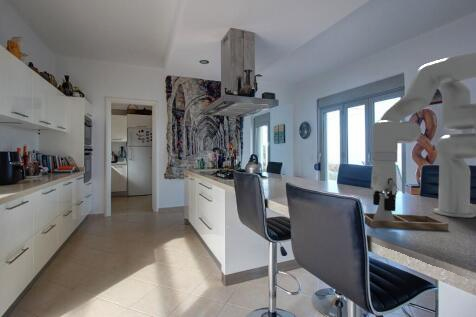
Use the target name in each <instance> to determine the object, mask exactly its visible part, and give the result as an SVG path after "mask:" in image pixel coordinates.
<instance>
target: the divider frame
mask: <svg viewBox="0 0 476 317" xmlns="http://www.w3.org/2000/svg"><path fill="white" fill-rule="evenodd" d="M363 213H364V216H365V222H364V223H365V224H367V225H368V226H369V227H371V228H382V229H385V228H387V229H388V228H389V229H407V230H408V229H409V230H411V229H412V230H430V231H431V230H432V231H448V230H449V223H446V222H444V221H442V220H439V219H437V218H435V217H432V216H430V215H425V214H424V215H423V214H405V213H404V214H400V213H392V214H393V217H394V219H395V221H378V220H373V218H374V215H375V213H376V212H375V213H373V212H372V213H370V212H363Z"/></svg>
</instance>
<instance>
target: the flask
mask: <svg viewBox="0 0 476 317" xmlns="http://www.w3.org/2000/svg"><path fill="white" fill-rule="evenodd" d="M388 194H389V192H388ZM379 195H380V202H379V205H377V208H376V211H375V215H374V218H373V220H378V221H395V219H394V217H393V214H394V213H393V211H385V210H384V198H386V197H385V194H384V192H383V193H379Z"/></svg>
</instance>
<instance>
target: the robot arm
mask: <svg viewBox="0 0 476 317" xmlns="http://www.w3.org/2000/svg"><path fill="white" fill-rule="evenodd" d="M473 78H476V52H472V53H470V52H469V53H465V54H459V55H453V56H448V57H446V58H445V57H444V58H442V59H438V60H435V61H432V62H428V63H426V64H424V65H422V66H420V67H419V68H418V70H417V71H416V72H415V74H414V76H413V79H412V80H411V82H410V84H409V86H408V88H407V90H406V91H405V92H406V93H405V94H404V96H403V97H401V98H400V99H399V100H398V101H397V102H395V103H394V104H393V105H391V107H389V109H387V110H386V111H385V112H384V114H383V115H382V117H381V119H380V120H379V121H376V122H374V123H373V124H372V131H371V132H372V134H371V135H372V137H371V138H372V142H371V143H372V146H371V147H372V148H371V154H372V155H371V156H372V157H371V162H372V165H371V166H372V168H371V179H370V180H371V181H370V188H371V189H372V193H373V196H372V197H373V198H372V199H373V200H372V201H373V205H375V206H378V205H379V202H380V195H379V193H384V194H385V197H386V198H384V210H385V211H392V212H395V211H396V206H397V205H396V202H397V201H396V199H397V195H398V194H397V190H398V185H397V184H398V183H397V180H398V178H397V165H396V164H397V163H398V147H399V146H398V145H399V144H411V143H414V142H416V141H418V140H419V139H420V137H422V128H421V126H420V125H419V124H418V123H417V122H414V121H412V120H405V121H403V120H404V119H406V118H408V117H409V116H412V115H413V114H416V113H418V112H421V111H422V110H424V109H425V108H426V109H427V107H428V106H430V104H431V103H432V100H433V99H434V97H435V94H436V92H437V90H439V92H440V95H441V98H442V99H441V100H442V102H441V103H442V108H441V111H442V112H441V122H442V127H443V129H444V130H446V131H451V132H452V131H467V130H468V131H469V130H474V132H471V133H470V132H469V133H452V134H446V135H443V136H441V137H440V138H439V139H438V140H437V141H436V146H435V147H436V152H437V157H438V158H437V159H438V166H439V167H438V171H439V172H438V208H437V207H436V208H433V212H434V213H435V214H437V215H441V216H445V217H451V218H453V217H454V218H463V219H464V218H465V219H466V218H467V219H471V218H475V217H476V214H475V212H476V205H474V204H473V203H471V169H470V166H469V165H468V163H467V162H466V160H464V159H468V160H469V159H471V160H474V159H475V160H476V102H475V103H472V102H471V91H470V89H469V87H468V86H467V85H465V84H464V83H463V82H461V81H464V80H468V79H473ZM388 193H389V194H388Z"/></svg>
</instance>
